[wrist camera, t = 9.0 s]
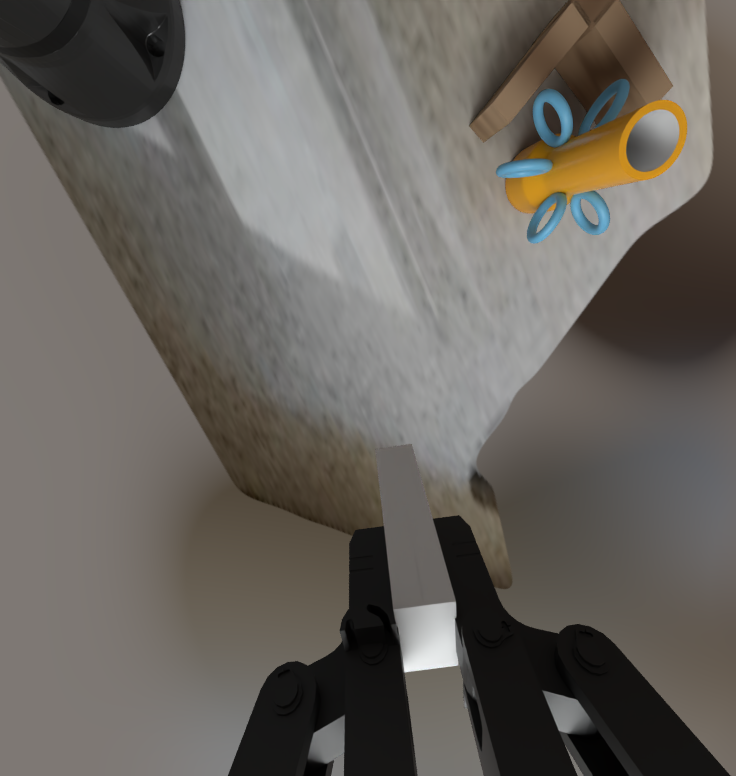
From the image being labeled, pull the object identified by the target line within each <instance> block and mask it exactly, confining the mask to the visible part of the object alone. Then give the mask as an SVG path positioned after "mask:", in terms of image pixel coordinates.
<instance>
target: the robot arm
mask: <svg viewBox="0 0 736 776" xmlns="http://www.w3.org/2000/svg"><path fill="white" fill-rule="evenodd" d="M184 50H185V34H184V23H183V16H182V11H181V6H180V2H179V0H0V63H2V64H3V65H4V66H5V67H6V68H7V69H8V70H9V71H10V72H11V73H12V74H13V75H14V76H15V77H16V78H18V79H19V80H20V81H21V82H22V83H23V84H24V85H25V86H26V87H27V88H29V89H30V90H31V91H32V92H33V93H35V94H36V95H37V96H39V97H40V98H41V99H43V100H44V101H46V102H47V103H49V104H50V105H52V106H54V107H56V108H57V109H59V110H61V111H63V112H65V113H67V114H70V115H72V116H74V117H77V118H79V119H81V120H84V121H86V122H89V123H92V124H95V125H99V126H104V127H112V128H121V127H129V126H134V125H137V124H140V123H142V122H144V121H146V120H148V119H150V118H151V117H153V116H154V115H156V114H157V113H158V112H159V111H160V110H161V109H162V108H163V107H164V106H165V105H166V103H167V102H168V101H169V99H170V98H171V96H172V94H173V92H174V91H175V88H176V86H177V84H178V81H179V78H180V75H181V71H182V66H183V60H184ZM375 450H376V459H377V468H378V477H379V486H380V495H381V504H382V513H383V522H384V526H382V527H375V528H367V529H359V530H355V532H354V534H353V537H352V539H351V541H350V543H349V560H350V561H349V572H350V574H349V609H348V611H347V612H346V614H345V616H344V617H343V619H342V622H341V628H340V634H341V637H342V643H341V644H340V645H339V646H338V647H337V648H336V649H335V651H333V652H332V653H330V654H329V655H327V656H326V657H324V658H322V659H320V660H318V661H316V662H314V663H312V664H311V665H309V666H307V665H305V664H303V663H301V662H298V661H295V662H287V663H285V664H283V665H281V666H279V667H277V668H276V669H275V670H274V671H273V672H272V673H271V674H270V675H269V676H268V677H267V679H266V681H265V683H264V685H263V687H262V688H261V690H260V693H259V696H258V698H257V701H256V703H255V706H254V709H253V711H252V714H251V716H250V719H249V722H248V724H247V727H246V730H245V732H244V735H243V738H242V740H241V743H240V745H239V748H238V751H237V753H236V756H235V759H234V761H233V764H232V767H231V769H230V772H229V774H228V776H331V773H332V768H333V763H334V759H335V758H337V757H338V756H340V755H342V754H343V753H344V776H417V767H416V760H415V751H414V743H413V735H412V727H411V719H410V711H409V703H408V696H407V689H406V681H405V673H404V672H410V671H417V670H426V669H434V668H441V667H449V666H457V665H458V661H459V665H460V669H461V673H462V677H463V694H464V696H463V698H464V708H468V712H469V716H470V720H471V724H472V729H473V733H474V737H475V741H476V745H477V749H478V753H479V758H480V762H481V766H482V770H483V774H484V776H577V773H576V771H575V769H574V766H573V764H572V761H571V759H570V756H569V754H568V751H567V749H568V750H569V752H570V754H571V755H572V757H573V758H574V760H575V762H576V763H577V765H578V767H579V768H580V770H581V772H582V773H583V775H584V776H730V775H729V773H728V772H727V771H726V770H725V769H724V768H723V767H722V766H721V764H720V763H719V762H718V761H717V760H716V759H715V758H714V756H713V755H712V754H711V753H710V752H709V751H708V750H707V748H706V747H705V746H704V745H703V744H702V743H701V742H700V740H699V739H698V738H697V737H696V736H695V735H694V734H693V733H692V731H691V730H690V729H689V728H688V727H687V726H686V725H685V723H684V722H683V721H682V720H681V719H680V718H679V717H678V715H677V714H676V713H675V712H674V711H673V710H672V709H671V708H670V706H669V705H668V704H667V703H666V702H665V701H664V699H663V698H662V697H661V696H660V695H659V694H658V693H657V692H656V691H655V689H654V688H653V687H652V686H651V685H650V684H649V682H648V681H647V680H646V679H645V678H644V677H643V676H642V674H641V673H640V672H639V671H638V670H637V669H636V668H635V667H634V665H633V664H632V663H631V662H630V661H629V660H628V659H627V657H626V656H625V655H624V654H623V653H622V652H621V651H620V649H619V648H618V647H617V646H616V645H615V644H614V643H613V642H612V641H611V640H610V639H609V638H607V637H606V636H605V635H604V634H603V633H601V632H599V631H597V630H595V629H594V628H592V627H589V626H585V625H580V624H575V625H569V626H566V627H565V628H564V629H563V630H561V631H560V633H559V634H558V633H553V632H549V631H544V630H539V629H535V628H532V627H529V626H526V625H524V624H522V623H520V622H518V621H517V620H515V619H514V618H513V617H512V616H511V615H509V614H508V612H507V611H506V610H505V609H504V608H503V606H502V604H501V602H500V600H499V598H498V595H497V593H496V590H495V588H494V585H493V583H492V580H491V578H490V575H489V573H488V570H487V568H486V565H485V563H484V560H483V558H482V555H481V554H480V550H479V548H478V545H477V544H476V540H475V538H474V535H473V533H472V530H471V528H470V526H469V525H468V524H467V523H466V522H465V521H464V520H463V519H462V518H461V517H460V516H459V515H458V516H450V517H443V518H435V519H433V518H432V515H431V511H430V507H429V504H428V500H427V497H426V493H425V490H424V486H423V482H422V479H421V475H420V472H419V468H418V465H417V461H416V458H415V454H414V450H413V447H412V444H408V445H401V446H393V447H386V448H378V449H375ZM565 745H566V747H567V749H566V747H565Z"/></svg>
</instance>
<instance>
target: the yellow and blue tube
mask: <svg viewBox="0 0 736 776" xmlns="http://www.w3.org/2000/svg"><path fill="white" fill-rule="evenodd" d="M629 89H630V85H629V82H628V81H627V80H626V79H619V80H617V81H615V82H614V83H612V84H611V85H610V86H608V87H607V88H606V89H605V90H604V91H603V92H602V93H601V95H600V96H599V97H598V98H597V99H596V101H595V102H594V103H593V105H592V106H591V108H590V109H589V111H588V112H587V114H586V116H585V118H584V120H583V122H582V124H581V126H580V129H579V132H578V136H577V137H576V136H574V135H572V131H573V118H572V113H571V110H570V107H569V105H568V103H567V101H566V99H565V98H564V97H563V96H562V95H561V94H560V93H559V92H558V91H556V90H554V89H545V90H543V91H541V92H540V93H539V94H538V95H537V97H536V99H535V101H534V104H533V120H534V124H535V127H536V130H537V132H538V134H539V136H540V137H541V139H542V140H540V141H538V142H536V143H534V144H533V145H531V146H529V147H527V148H525V149H524V150H523V151H521V152H520V153H519V154H518V155H517V156H516V157H515V159H514V160H513V161H512V162H508V163H504V164H502V165H500V166H499V167H498V168H497V170H496V174H497V176H499V177H502V178H506V181H505V189H506V194H507V197H508V200H509V201H510V203H511V204H512V206H513V207H514V208H516V209H517V210H519V211H520V212H523V213H535V214H534V215H533V217H532V219H531V221H530V224H529V226H528V230H527V239H528V241H529V242H530V243H539V242H541V241H542V240H544V239H545V238H546V237H548V236H549V235H550V234H551V232H552V231H553V230H554V229H555V227H556V226H557V225H558V223H559V222H560V220H561V218H562V216H563V214H564V212H565V209H566V205H567V204H569V203H570V207H571V212H572V215H573V217H574V219H575V221H576V223H577V224H578V225H579V226H580V227H581V228H582V229H583V230H584V231H585V232H587V233H589V234H592V235H599V234H601V233H603V232H604V231H606V229H607V228H608V226H609V223H610V213H609V209H608V207H607V205H606V203H605V201H604V200H603V198H602V197H601V196H600V195H599V194H598V193H597V192H595V191H594V190H599V189H604V188H609V187H613V186H618V185H623V184H628V183H633V182H638V181H643V180H648V179H652V178H654V177H657V176H659V175H660V174H662V173H663V172H665V171H666V170H667V169H668V168H669V167H670V166H671V165H672V164H673V163H674V162H675V160H676V159H677V158H678V156H679V154H680V152H681V151H682V148H683V146H684V143H685V140H686V135H687V121H686V117H685V114H684V112H683V110H682V109H681V107H680V106H679V105H677V104H676V103H674V102H672V101H669V100H658V101H654V102H651V103H649V104H647V105H645V106H642V107H640V108H638V109H636V110H634V111H632V112H629V113H627V114H625V115H623V116H621V117H619V118H616V117H617V115H618V114H619V112H620V111H621V109H622V107H623V105H624V103H625V101H626V99H627V97H628V94H629ZM616 93H617V94H616ZM615 94H616V97H615V99H614V101H613V103H612V105H611V107H610V108H609V110H608V112H607V113H606V115H605V116H604V117H603V119H602V120H601V121H600V122H599V123H598V125H597V126H596V127H595V128H594V129H592V130H590V127H591V125H592V123H593V121H594V119H595V117H596V116H597V114H598V113H599V111H600V110H601V108H602V107H603V106H604V105H605V103H606V102H607V101H608V100H609V99H610V98H611V97H612V96H613V95H615ZM545 102H548V103H550V104H551V105H552V106H553V107H554V108H555V110H556V112H557V113H558V116H559V118H560V122H561V133H557V134H553V133H552V132H551V130H550V129H549V128H548V126H547V124H546V121H545V118H544V113H543V106H544V103H545ZM615 118H616V119H615ZM589 130H590V131H589ZM581 199H585V200H587V201H588V202H590V203H591V204H592V206H593V207H594V208H595V210H596V212H597V214H598V218H599V224H598V225H594V224H592V223H591V222H590V221H589V220H588V219H587V218H586V217H585V215H584V214H583V212H582V209H581V204H580V201H581ZM553 210H554V212H553V214H552V216H551V218H550V220H549V221H548V223H547V224H546V225H545V226H544V228H543V229H542V230H541V231H540V232H538V233H537V234H536V231H537V227H538V225H539V222H540V221H541V219H542V217H543V216H544V214H545V213H546V212H547V211H553Z"/></svg>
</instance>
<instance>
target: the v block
mask: <svg viewBox="0 0 736 776" xmlns="http://www.w3.org/2000/svg"><path fill="white" fill-rule="evenodd" d="M554 68H556V70H557V71H558V72H559V74H560V75H561V77H562V78H563V79H564V81H565V82H566V83H567V85H568V86H569V88H570V89H571V90H572V92H573V93H574V94H575V96H576V97H577V98H578V100H579V101H580V103H581V104H582V105H583V107H584V108H585V109H586V111H587V112H588V111H589V109H590V108H591V106H592V105H593V103H594V102H595V101H596V99H597V98H598V97H599V96H600V95H601V93H602V92H603V91H604V90H605V89H606V88H607V87H608V86H610V85H611V84H612V83H614V82H615V81H617V80H619V79H626V80H627V81H628V82H629V85H630V89H629V94H628V97H627V99H626V101H625V103H624V105H623V107H622V109H621V111H620V112H619V114H618V115H617V117H616V118H619V117H621V116H623V115H625V114H627V113H629V112H632V111H634V110H636V109H638V108H640V107H642V106H645V105H647V104H649V103H651V102H654V101H658V100H661V99H662V97H663V96H664V95H665V94H666V93H667V92H668V91H669V90H670V89H671V88H672V87H673V85H672V83H671V81H670V80H669V78H668V77H667V75H666V73H665V72H664V70H663V69H662V67H661V66H660V64H659V62H658V61H657V59H656V58H655V56H654V54H653V53H652V51H651V50H650V48H649V46H648V45H647V43H646V42H645V40H644V39H643V37H642V35H641V34H640V32H639V31H638V29H637V27H636V26H635V24H634V23H633V21H632V19H631V18H630V16H629V15H628V13H627V11H626V10H625V8H624V7H623V5H622V4H621V2H620V0H569V1H568V2H567V3H566V4H565V5H564V6H563V7H562V8H561V9H560V11H559V12H558V13H557V14H556V15H555V16H554V17H553V19H552V20H551V21H550V22H549V24H548V25H547V26H546V28H545V29H544V30H543V31H542V33H541V34H540V35H539V37H538V38H537V39H536V40H535V42H534V43H533V44H532V47H531V48H530V49H529V50H528V52H527V53H526V54H525V55H524V57H523V58H522V59H521V61H520V62H519V63H518V64H517V66H516V67H515V68H514V70H513V71H512V72H511V73H510V75H509V76H508V77H507V78H506V80H505V81H504V82H503V84H502V85H501V86H500V87H499V89H498V90H497V91H496V93H495V94H494V95H493V96H492V98H491V99H490V100H489V101H488V103H487V104H486V105H485V107H484V108H483V109H482V110H481V112H480V113H479V114H478V115H477V117H476V118H475V119H474V121H473V122H472V123H471V124H470V128H471V129H472V130H473V131H474V132H475V133H476V134H477V136H478V137H479V138H480V139H481V140H482V141H483V143H484V142H485V141H486V140H488V139H489V138H490V137H492V136H493V135H494V134H496V133H497V132H498V131H500V130H501V129H502V128H504V127H505V126H506V125H508V124H509V123H510V122H511V121H512V119H513V118H514V117H515V116H516V115H517V113H518V112H519V111H520V110H521V108H522V107H523V106H524V105H525V104H526V102H527V101H528V100H529V99H530V97H531V96H532V95H533V94H534V93H535V91H536V90H537V89H538V88H539V86H540V85H541V84H542V83H543V82H544V80H545V79H546V78H547V77H548V75H549V74H550V73H551V72H552V71H553V69H554ZM616 94H617V93H616ZM616 94H615V95H613V96H612V97H611V98H610V99H609V100H608V101H607V102H606V103H605V105H604V106H603V107H602V108H601V110H600V111H599V113H598V114H597V116H596V117H595V119H594V122H595V123H596V124H597V125H598V123H599V122H600V121H601V120H602V119H603V117H604V116H605V115H606V113H607V112H608V110H609V108H610V107H611V105H612V103H613V101H614V99H615V97H616ZM616 118H615V119H616Z"/></svg>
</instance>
